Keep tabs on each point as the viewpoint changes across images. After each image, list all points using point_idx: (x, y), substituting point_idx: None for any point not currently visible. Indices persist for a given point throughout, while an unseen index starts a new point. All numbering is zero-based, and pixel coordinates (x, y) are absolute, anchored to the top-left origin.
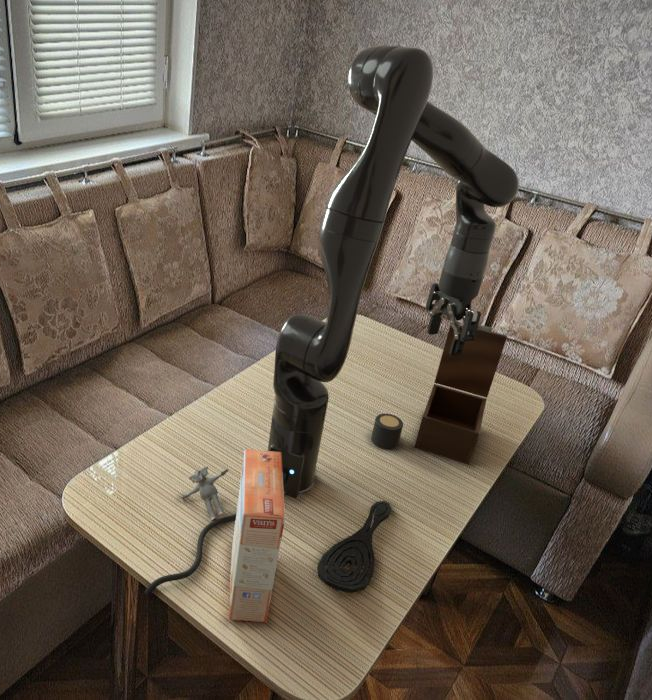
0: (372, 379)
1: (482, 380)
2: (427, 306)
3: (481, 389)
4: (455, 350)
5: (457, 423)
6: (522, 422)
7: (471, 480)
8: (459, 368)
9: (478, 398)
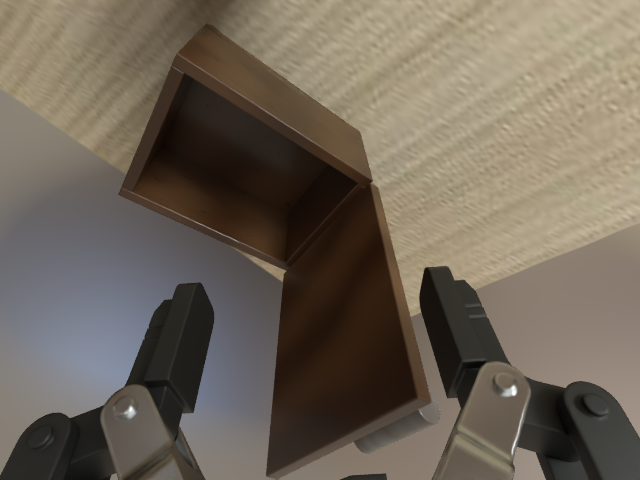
0: (561, 39)
1: (293, 296)
2: (594, 414)
3: (292, 277)
4: (158, 321)
5: (300, 184)
6: None
7: (93, 123)
8: (336, 269)
9: (290, 256)
